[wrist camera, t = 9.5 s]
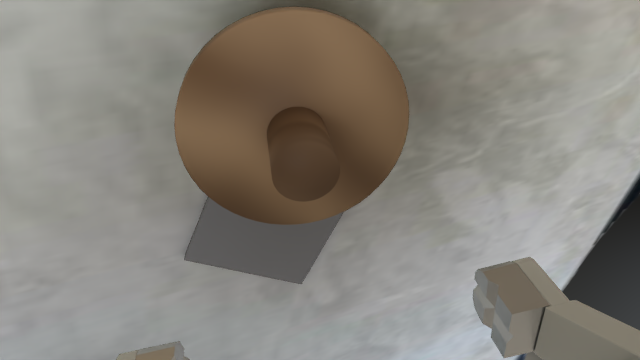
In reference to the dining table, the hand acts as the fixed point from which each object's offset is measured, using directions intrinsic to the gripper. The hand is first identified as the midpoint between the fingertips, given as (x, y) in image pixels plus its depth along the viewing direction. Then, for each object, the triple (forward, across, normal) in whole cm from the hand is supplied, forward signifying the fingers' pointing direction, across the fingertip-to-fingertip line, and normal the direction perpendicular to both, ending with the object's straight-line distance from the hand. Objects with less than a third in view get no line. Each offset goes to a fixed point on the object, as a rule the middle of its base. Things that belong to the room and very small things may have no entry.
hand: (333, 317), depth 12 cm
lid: (+12, 0, 0) cm, 12 cm away
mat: (+22, +2, +13) cm, 26 cm away
